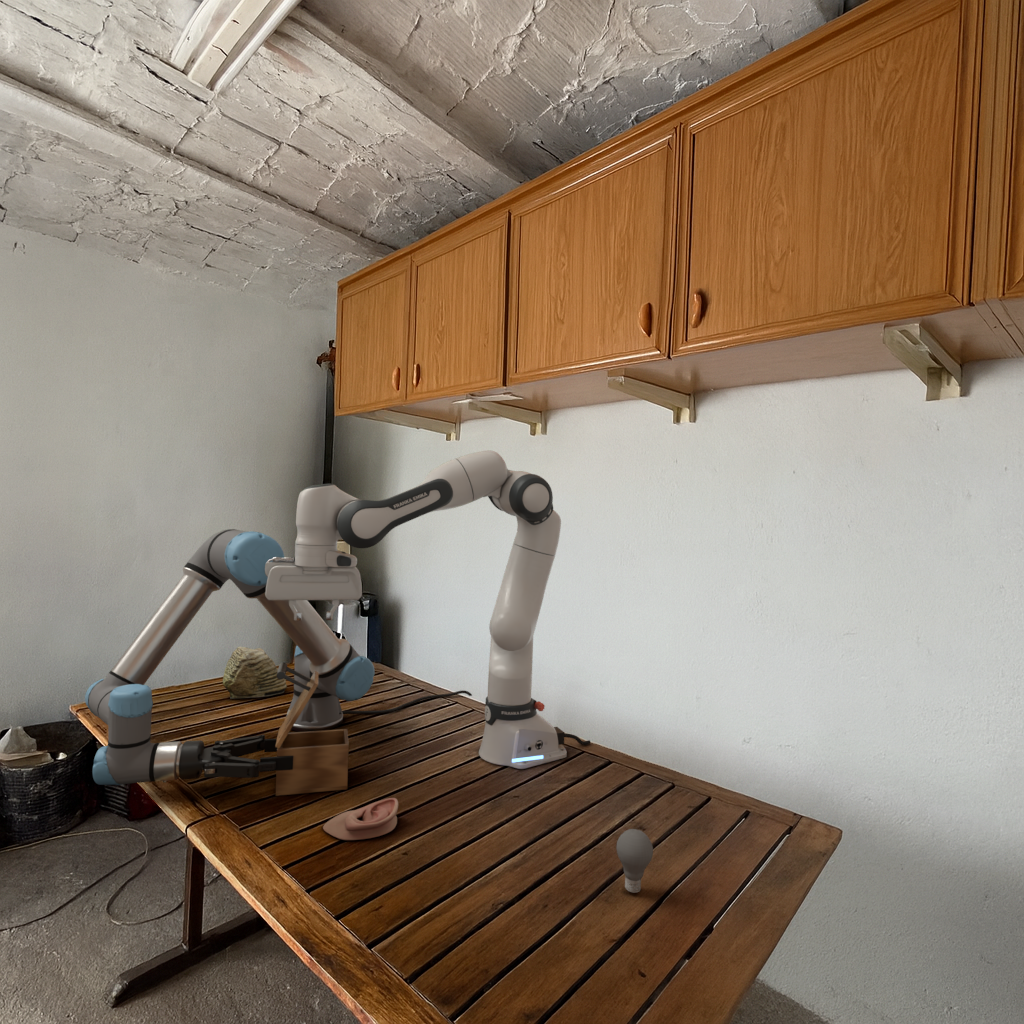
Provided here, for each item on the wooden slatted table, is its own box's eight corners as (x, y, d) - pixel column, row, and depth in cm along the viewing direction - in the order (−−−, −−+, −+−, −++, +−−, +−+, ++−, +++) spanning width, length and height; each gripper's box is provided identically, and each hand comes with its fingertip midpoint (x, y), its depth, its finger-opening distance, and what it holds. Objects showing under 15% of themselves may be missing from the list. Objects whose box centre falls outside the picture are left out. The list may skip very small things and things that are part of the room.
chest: (345, 770, 147) (347, 728, 147) (347, 789, 138) (348, 744, 137) (278, 776, 143) (280, 733, 142) (275, 795, 133) (277, 749, 133)
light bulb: (610, 879, 108) (613, 822, 108) (644, 879, 109) (647, 822, 109) (619, 902, 102) (622, 840, 102) (655, 901, 103) (658, 840, 103)
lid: (318, 672, 144) (284, 655, 142) (318, 684, 135) (282, 666, 133) (281, 731, 142) (247, 715, 140) (278, 748, 133) (241, 731, 131)
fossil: (218, 695, 195) (220, 647, 195) (278, 685, 208) (279, 640, 207) (228, 703, 189) (230, 653, 188) (289, 692, 201) (290, 645, 201)
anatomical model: (315, 814, 118) (343, 787, 129) (314, 835, 118) (343, 807, 129) (382, 825, 115) (405, 796, 127) (381, 846, 116) (404, 816, 127)
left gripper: (191, 756, 143) (295, 749, 149) (168, 803, 122) (290, 792, 128) (192, 724, 143) (296, 718, 149) (169, 764, 122) (292, 756, 128)
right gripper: (263, 558, 133) (261, 623, 133) (363, 559, 139) (361, 622, 139) (266, 555, 139) (264, 618, 139) (362, 556, 145) (360, 616, 145)
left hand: (294, 752), depth 139 cm, fingers closed on chest, 10 cm apart
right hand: (313, 620), depth 139 cm, fingers open, 5 cm apart
